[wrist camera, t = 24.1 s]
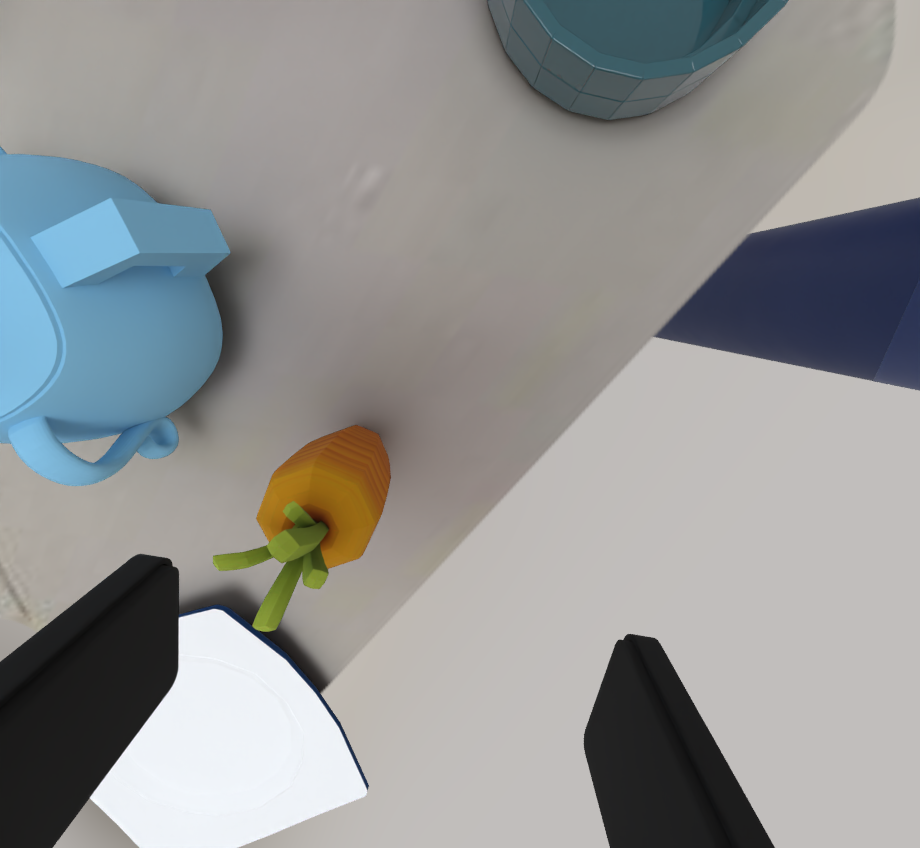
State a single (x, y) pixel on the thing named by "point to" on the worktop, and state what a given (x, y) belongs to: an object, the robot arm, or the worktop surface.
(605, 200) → the worktop surface
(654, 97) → the bowl
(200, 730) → the plate
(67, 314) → the teapot
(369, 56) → the worktop surface
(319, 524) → the carrot
